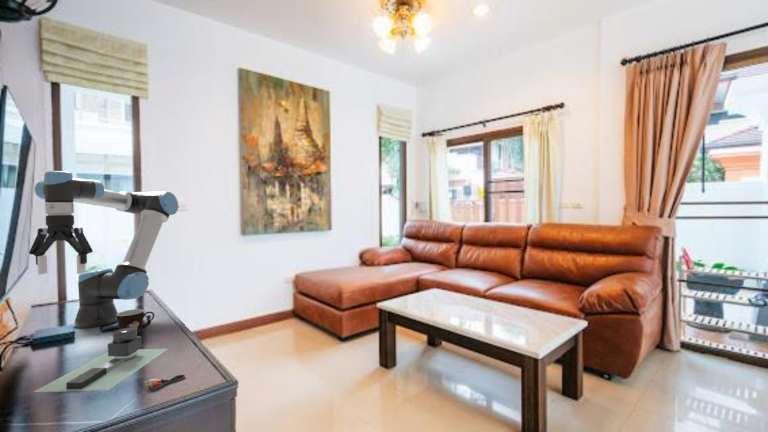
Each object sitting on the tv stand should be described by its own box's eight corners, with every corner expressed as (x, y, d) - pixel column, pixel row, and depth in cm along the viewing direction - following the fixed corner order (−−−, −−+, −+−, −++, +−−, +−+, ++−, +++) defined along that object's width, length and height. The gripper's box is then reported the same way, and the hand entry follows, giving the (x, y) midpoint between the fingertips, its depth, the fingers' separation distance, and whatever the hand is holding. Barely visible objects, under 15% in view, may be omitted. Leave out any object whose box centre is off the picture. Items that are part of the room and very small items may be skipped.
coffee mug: (114, 344, 129) (114, 317, 129) (119, 336, 137) (118, 311, 137) (152, 338, 135) (151, 312, 134) (155, 331, 142) (154, 306, 142)
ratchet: (122, 354, 119) (122, 339, 119) (141, 353, 119) (140, 339, 119) (62, 389, 96) (62, 371, 96) (85, 388, 96) (84, 370, 96)
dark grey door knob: (122, 348, 119) (121, 327, 119) (141, 347, 119) (141, 327, 119) (108, 356, 113) (107, 334, 113) (128, 355, 113) (127, 334, 113)
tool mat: (110, 351, 123) (110, 350, 123) (168, 349, 123) (168, 348, 123) (33, 393, 95) (32, 392, 95) (108, 391, 95) (108, 390, 95)
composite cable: (184, 376, 104) (184, 368, 104) (187, 383, 100) (186, 374, 100) (144, 387, 98) (143, 378, 98) (145, 394, 94) (145, 385, 94)
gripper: (13, 215, 122) (15, 276, 123) (86, 214, 123) (89, 274, 123) (34, 214, 130) (36, 272, 130) (103, 213, 130) (105, 270, 131)
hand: (62, 273), depth 127 cm, fingers open, 13 cm apart
